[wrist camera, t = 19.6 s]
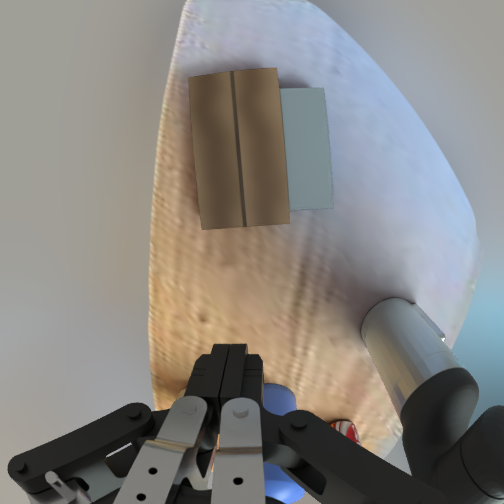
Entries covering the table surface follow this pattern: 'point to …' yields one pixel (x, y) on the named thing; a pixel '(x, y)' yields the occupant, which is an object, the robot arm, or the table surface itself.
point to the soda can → (347, 430)
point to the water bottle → (275, 479)
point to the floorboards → (239, 149)
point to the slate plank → (306, 148)
